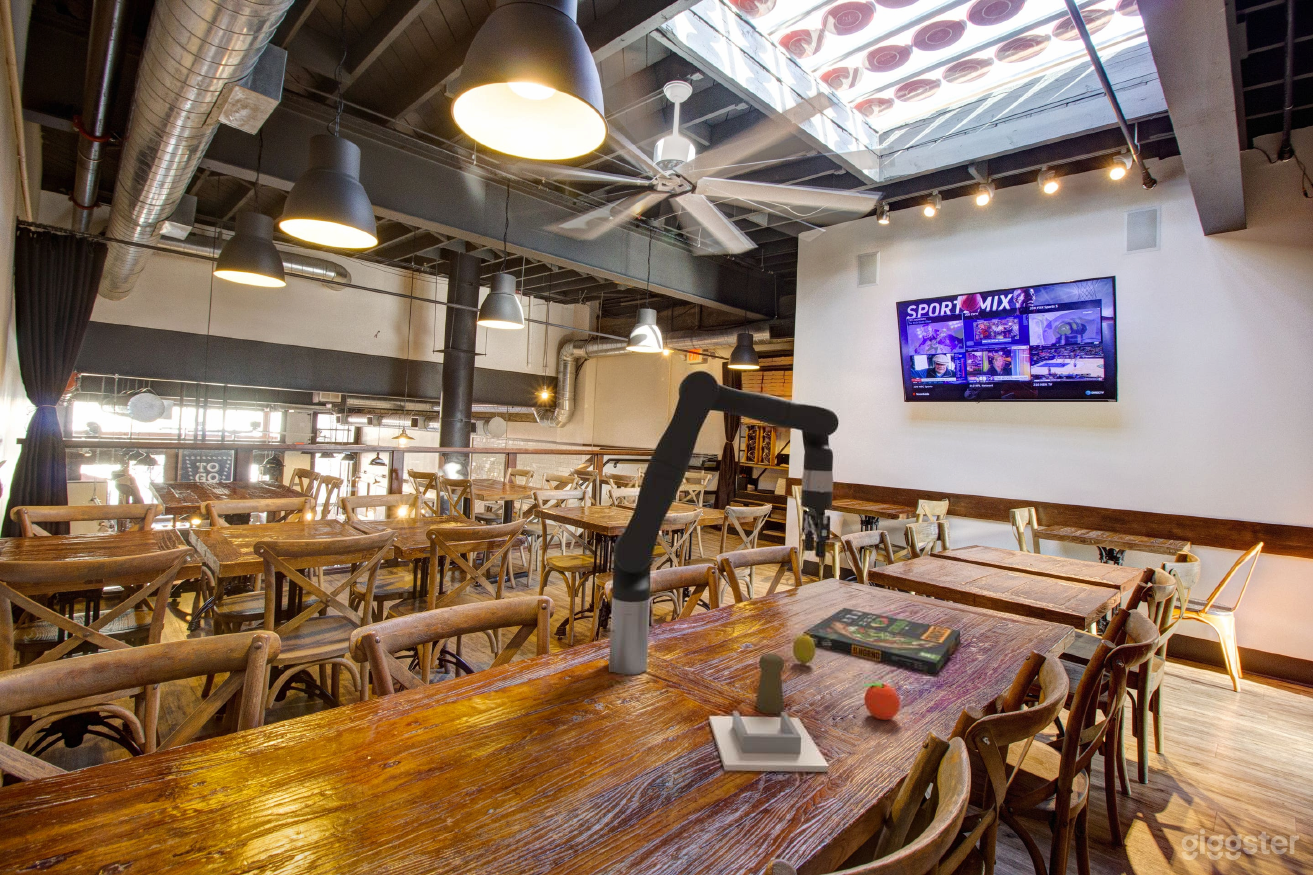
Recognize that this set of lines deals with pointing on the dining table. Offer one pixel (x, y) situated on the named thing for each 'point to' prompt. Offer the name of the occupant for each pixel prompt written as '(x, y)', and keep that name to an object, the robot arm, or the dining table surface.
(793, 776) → the dining table surface
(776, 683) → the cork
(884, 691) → the clementine
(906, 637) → the pizza box
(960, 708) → the dining table surface
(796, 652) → the lemon
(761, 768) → the U-rest
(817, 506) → the robot arm
